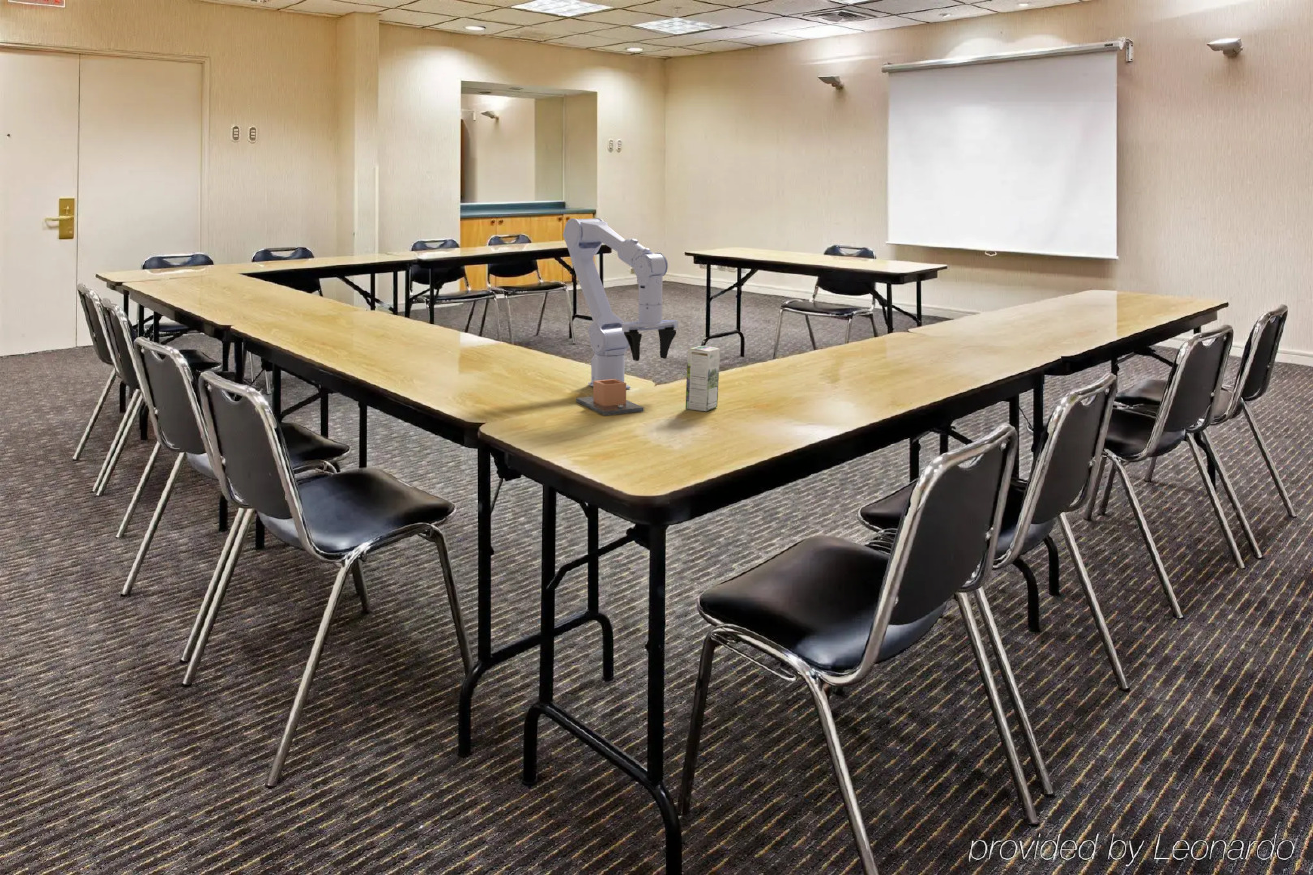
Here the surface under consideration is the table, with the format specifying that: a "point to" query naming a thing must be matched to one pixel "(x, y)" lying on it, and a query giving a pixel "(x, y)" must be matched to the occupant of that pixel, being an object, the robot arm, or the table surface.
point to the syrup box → (702, 378)
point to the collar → (609, 392)
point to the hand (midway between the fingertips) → (649, 359)
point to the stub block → (610, 407)
